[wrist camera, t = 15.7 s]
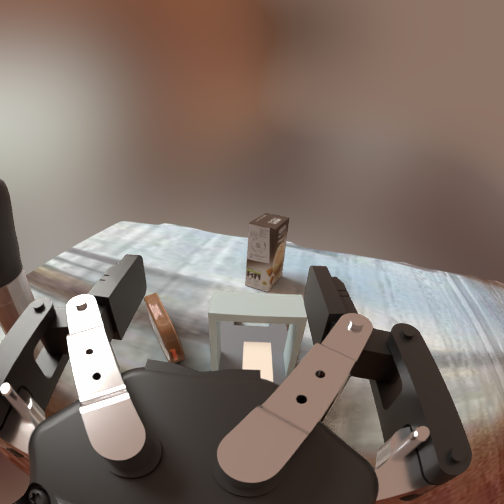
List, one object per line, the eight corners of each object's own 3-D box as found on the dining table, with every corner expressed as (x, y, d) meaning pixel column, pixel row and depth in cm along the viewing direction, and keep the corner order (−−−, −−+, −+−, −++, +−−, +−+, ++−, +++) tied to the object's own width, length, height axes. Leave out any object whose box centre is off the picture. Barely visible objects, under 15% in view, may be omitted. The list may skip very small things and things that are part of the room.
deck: (195, 510, 20) (193, 508, 19) (220, 316, 55) (220, 309, 54) (303, 512, 20) (307, 510, 19) (283, 319, 55) (284, 312, 54)
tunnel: (211, 373, 39) (208, 312, 33) (215, 351, 44) (213, 290, 38) (292, 376, 39) (307, 317, 34) (289, 354, 44) (301, 294, 38)
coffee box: (268, 293, 63) (275, 229, 56) (244, 285, 66) (248, 222, 59) (282, 275, 71) (289, 217, 64) (260, 269, 73) (265, 212, 66)
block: (237, 489, 22) (239, 469, 18) (241, 385, 37) (243, 341, 33) (266, 489, 22) (278, 469, 18) (263, 386, 37) (270, 342, 33)
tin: (188, 369, 42) (182, 334, 38) (171, 374, 40) (163, 340, 36) (161, 317, 53) (155, 283, 49) (147, 321, 51) (140, 287, 47)
